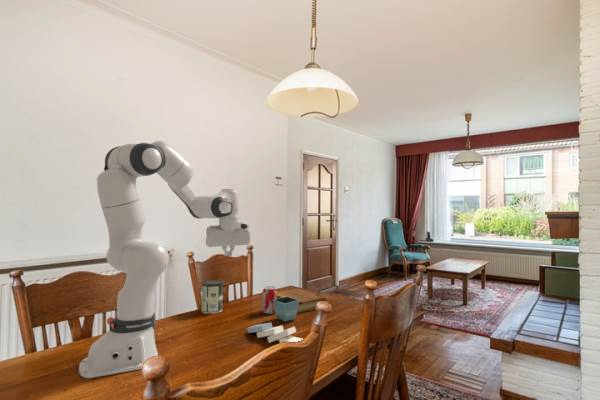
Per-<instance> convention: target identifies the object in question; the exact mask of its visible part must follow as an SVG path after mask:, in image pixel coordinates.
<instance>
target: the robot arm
mask: <svg viewBox="0 0 600 400" xmlns="http://www.w3.org/2000/svg"><path fill="white" fill-rule="evenodd" d="M154 174H157V175H159V177H160V178H161V179H163V180H164V181H165V182H166V183H167V185H168V187H169V189H171V191H172V192H173V193H174V194H175V195H176V196H177V197H178V198H179V199H180V200H181V202H182V203H184V205H185V206H186V207H187V210H188V212H189V213H190V215H191V216H192V217H193V218H194V219H218V225H217V224H216V225H209V226H208V227H207V228H206V233H205V234H206V237H205V245H206V247H207V248H216V247H218V248H219V247H221V249H222V250H223V252H224V257H232V256H233V251H234V250H235V249H236V248H235V247H236V246H248V245H249V244H251V233H250V231H249V228H250V227H249V224H248V223H245V222H242V221H240V217H239V211H240V197H239V193H238V192H237V191H236V190H234V189H230V188H223V189H221V190H220V192H218V193H217V194H214V195H199V194H197V193H196V192H195V191H194V190H193V189H192V187H191V186H190V185H188V184H190V182H191V180H192V179H193V176H194V168H193V166H192V164H190V162H189V161H188V160H187V159H186V158H185V157H184V156H183V155H182V154H181V153H180V152H179V151H177V150H176V148H174V147H173V146H171V145H170V144H168V143H166V142H165V141H162V140H158V141H154V142H152V143H148V142H140V143H126V144H123V145H119V146H115V147H113V148H111V149H110V150H109V151H108V152H107V153H106V154H105V157H104V167H103V171H102V172H100V173H99V174H98V176H97V178H96V186H97V188H96V189H97V194H98V199H99V203H100V207H101V210H102V213H103V218H104V220H105V224H106V226H107V231H108V242H109V244H108V245H109V246H108V247H109V248H108V250H107V252H106V261H107V263H108V264H109V266H110V267H112V268H114V270H116V271H119V272H121V273H126V276H125V277H126V278H125V282H124V285H123V286H122V289H120V290H119V291H118V293H117V299H116V303H117V304H116V306H117V307H116V316H115V317H114V318H113V317H112V316H109V317H108V318H107V319H106V323H107V325H108V326H109V327H108V329H109V330H108V331H106V332H105V333H104V334H103V335H102V336H100V337H99V338H97V340H95V341H94V342H93V343H92V344H91V346H90V347H89V351H88V354H87V357H85V358H84V359H82V360H81V361H80V362H79V365H78V374H79V375H80V376H81V377H82V378H85V379H93V378H99V377H103V376H109V375H116V374H119V373H120V374H121V373H126V372H132V371H137V370H141V369H143V368H142V366H143V363H144V362H145V361H146V360H147V359H149V358H151V357H153V356H157V357H158V355H159V352H158V348H157V345H156V340H155V329H156V328H155V327H156V313H155V312H154V311H155V310H154V309H155V293H156V287H157V283H158V282H159V278H160V276H161V275H162V274H163V273H164V271H165V270H166V269H167V268H168V265H169V262H170V255H169V252H168V251H167V250H166V248H164V247H163V246H161V245H159V244H157V243H155V242H148V241H144V239H143V231H142V230H143V226H144V225H145V223H146V218H145V214H144V210H143V208H142V205H141V200H140V196H139V193H138V191H137V185H136V184H137V178H140V177H145V176H146V177H148V176H152V175H154ZM228 247H229V248H230V249H229V251H227V249H228Z"/></svg>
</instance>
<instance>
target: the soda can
mask: <svg viewBox="0 0 600 400" xmlns="http://www.w3.org/2000/svg"><path fill="white" fill-rule="evenodd" d="M277 292H278V291H277V289H276V287H275V286H274V285H273V286H269V285H268V286H267V285H266V286H264V287H263V289H262V293H261V297H262V298H261V308H262V310H261V311H262V312H263V313H264V314H266V315H273V314H274V313H275V310H274V303H273V300H274V299H277Z"/></svg>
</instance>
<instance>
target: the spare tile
mask: <svg viewBox="0 0 600 400" xmlns="http://www.w3.org/2000/svg"><path fill="white" fill-rule="evenodd" d="M270 328H273V324H272V322H266V323H260V324H255V325H253V326H249V327H247V328H246V329H247V333H248V334H250V333H257V332H260V331H264V330H267V329H270Z"/></svg>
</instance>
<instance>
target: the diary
mask: <svg viewBox="0 0 600 400" xmlns="http://www.w3.org/2000/svg"><path fill="white" fill-rule="evenodd" d="M283 297H291V298H294V299H297V300H299V305H298V311H297V314H296V315H299V314H304V313H307V311H308V312H311V311H315V310H314V309H315V305H316V303H317V302H319V301H326V302H327V299H326V298H325V296H322V295H321V296H320V295H318V294H315V293H312V292H309V291H306V290H303V289H301V288H292V289H287V290H282V291H277V299H278V298H283Z"/></svg>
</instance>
